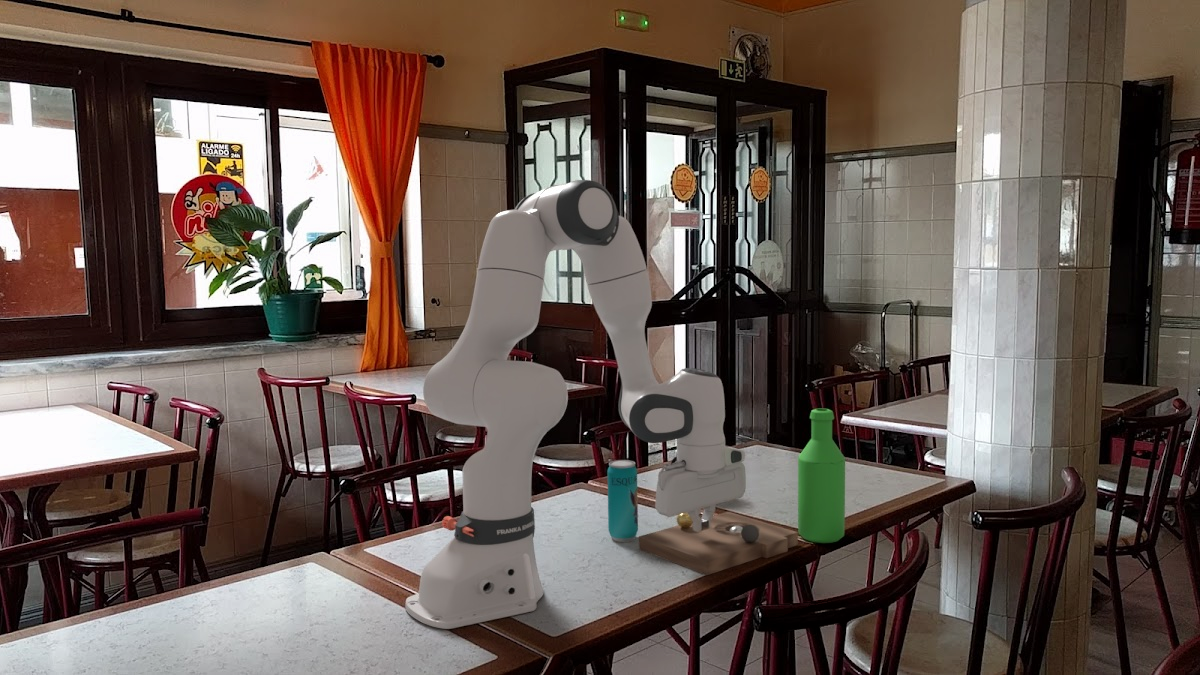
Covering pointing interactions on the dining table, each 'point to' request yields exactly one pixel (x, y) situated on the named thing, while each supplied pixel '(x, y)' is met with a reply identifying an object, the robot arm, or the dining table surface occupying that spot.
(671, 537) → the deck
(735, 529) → the steel ball
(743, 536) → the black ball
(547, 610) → the dining table surface
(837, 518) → the bottle
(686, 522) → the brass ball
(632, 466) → the beverage can
